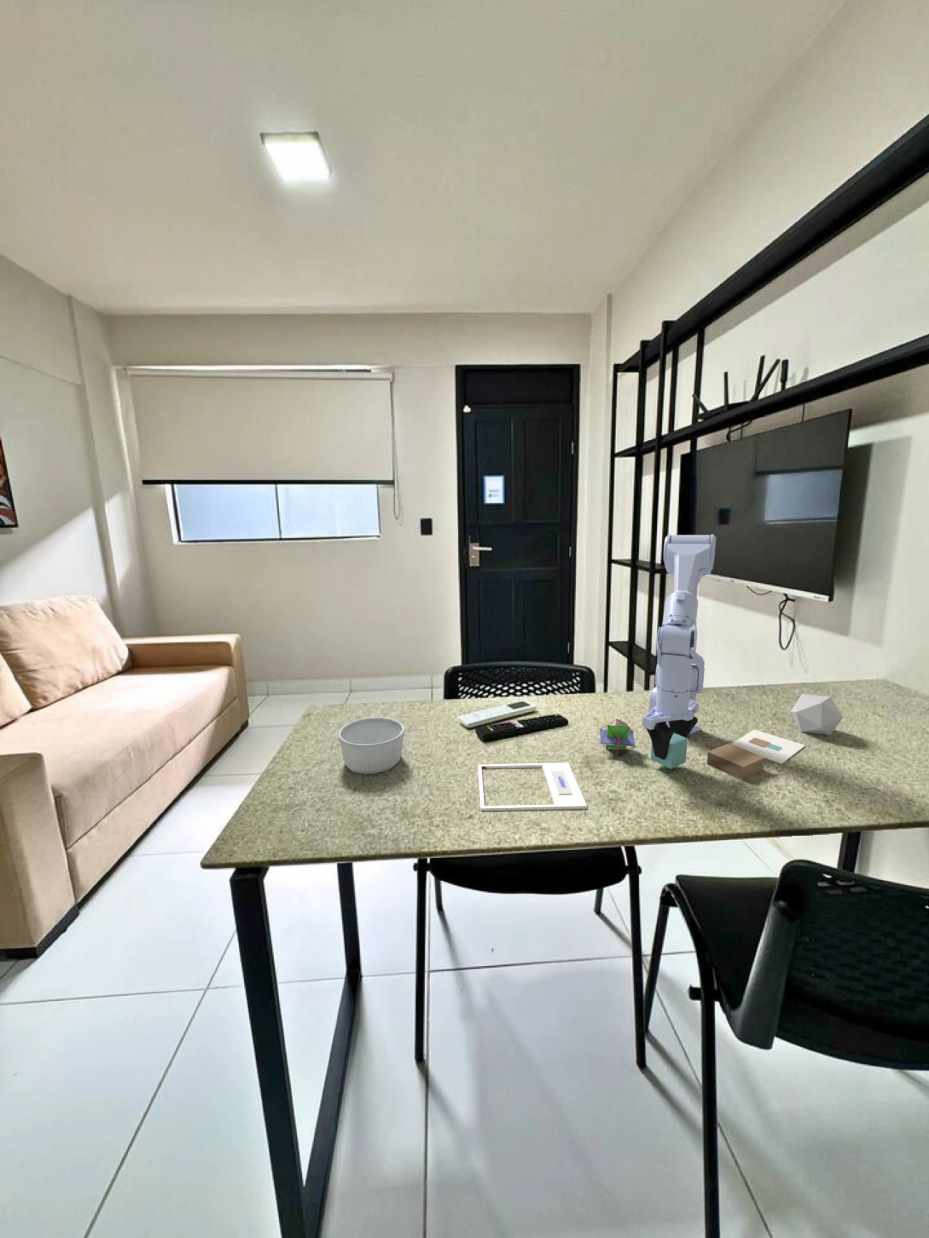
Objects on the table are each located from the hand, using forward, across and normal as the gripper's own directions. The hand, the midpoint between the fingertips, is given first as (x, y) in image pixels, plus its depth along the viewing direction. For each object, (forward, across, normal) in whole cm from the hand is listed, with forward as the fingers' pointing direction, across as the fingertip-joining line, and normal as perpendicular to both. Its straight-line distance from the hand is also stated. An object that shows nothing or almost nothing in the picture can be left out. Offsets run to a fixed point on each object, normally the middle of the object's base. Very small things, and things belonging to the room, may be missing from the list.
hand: (668, 753), depth 93 cm
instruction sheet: (+3, +25, -6) cm, 26 cm away
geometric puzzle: (+3, -3, +10) cm, 11 cm away
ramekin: (+3, -47, +35) cm, 59 cm away
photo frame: (+3, -27, +10) cm, 29 cm away
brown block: (+3, +11, -7) cm, 13 cm away
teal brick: (+2, 0, 0) cm, 2 cm away
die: (+3, +41, -8) cm, 42 cm away
